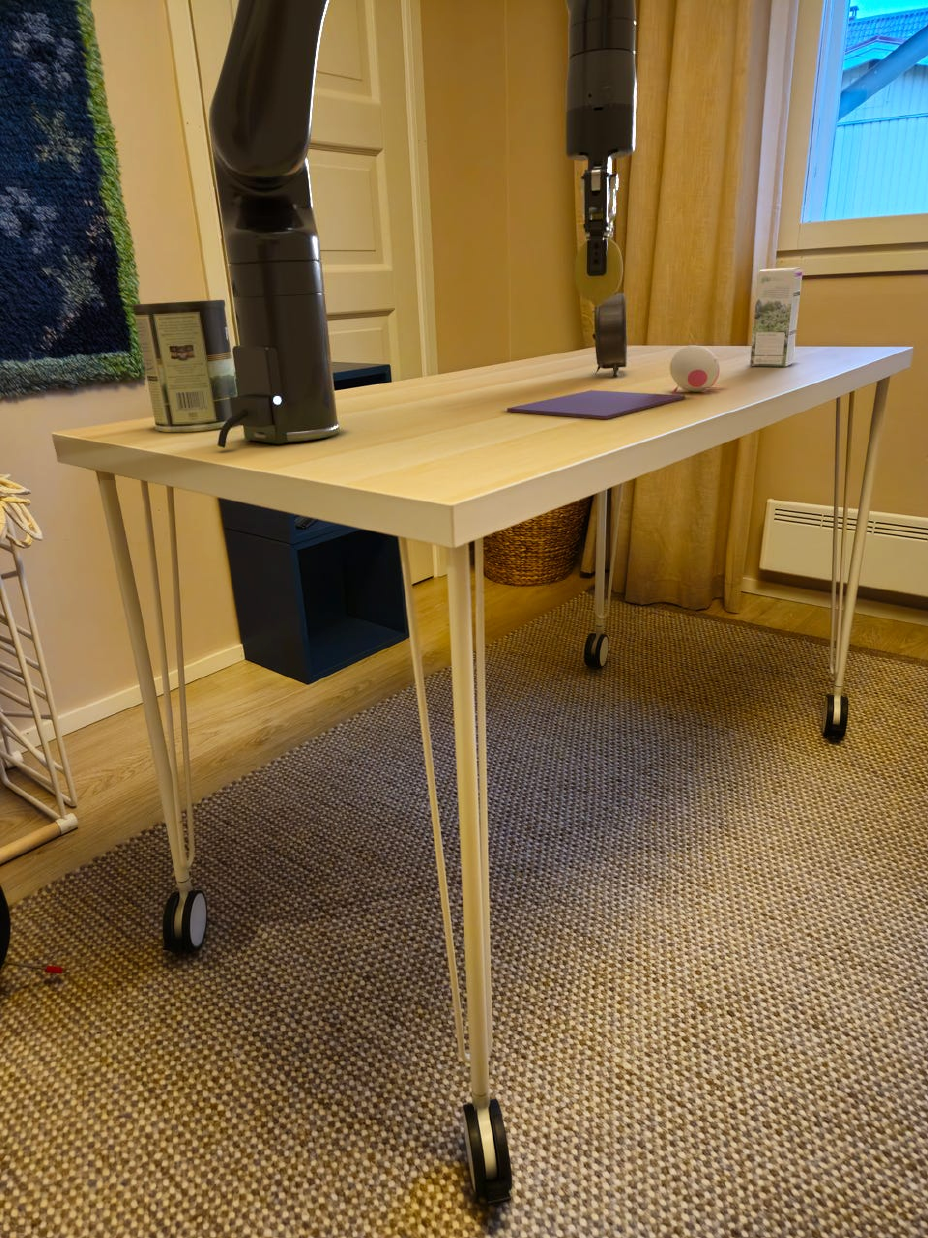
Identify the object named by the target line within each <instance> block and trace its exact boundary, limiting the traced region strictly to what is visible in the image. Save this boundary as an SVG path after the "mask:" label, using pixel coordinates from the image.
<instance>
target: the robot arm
mask: <svg viewBox="0 0 928 1238" xmlns="http://www.w3.org/2000/svg"><path fill="white" fill-rule="evenodd" d="M330 2H331V0H238V3H237V7H236V12H235V16H234V20H233V23H232V24H233V25H232V28H231V32H230V37H229V41H228V45H227V49H226V52H225V56H224V60H223V63H222V67H221V70H220V74H219V77H218V80H217V83H216V87H215V89H214V93H213V96H212V99H211V103H210V106H209V113H208V128H209V129H208V130H209V136H210V137H209V138H210V147H211V153H212V161H213V167H214V175H215V181H216V189H217V194H218V201H219V209H220V216H221V217H220V218H221V225H222V233H223V239H224V246H225V251H226V259H227V265H228V272H229V278H230V286H231V292H232V300H233V308H234V314H235V323H236V329H237V336H238V343H239V344H238V345H234V346H233V347H232V349H231V354H232V361H233V368H234V375H235V382H236V389H237V396H236V397H230V403H231V410H232V417H231V418H230V419H229V420H227V422H226V423H225V424H224V425H223V427H222V428H220V429H221V430H220V432H219V434H218V440H217V446H218V447H220V448H226V445H227V439H228V434H229V433H230V431H231V429H232V428H233V427H234V426H242V430H243V436H244V440H249V441H254V442H255V441H256V442H262V443H269V444H275V445H279V444H285V443H286V444H287V443H294V442H295V443H296V442H306V441H314V440H320V439H325V438H329V437H333V436H335V435H337V434H339V433H340V423H339V421H338V414H337V403H336V393H335V386H334V385H335V384H334V383H335V382H334V374H333V363H332V354H331V353H332V352H331V344H330V343H331V342H330V333H329V325H328V323H329V322H328V316H327V315H328V314H327V305H326V294H325V284H324V275H323V273H324V272H323V265H322V253H321V245H320V236H319V232H318V228H317V223H316V218H315V213H314V205H313V196H312V186H311V177H310V168H309V167H310V166H309V157H308V154H309V150H310V147H311V140H312V125H313V123H312V121H313V109H314V99H315V98H314V95H315V85H316V75H317V66H318V59H319V52H320V51H319V50H320V43H321V37H322V32H323V26H324V21H325V18H326V15H327V11H328V8H329V5H330ZM565 4H566V9H567V13H568V23H567V27H568V28H567V34H568V35H567V38H568V39H567V41H568V43H567V46H568V47H567V48H568V51H567V55H568V57H567V58H568V59H567V60H568V61H567V73H566V80H565V156H566V157H567V159H569V160H571V161H578V162H584V161H587V169H585V170H584V171H583V174H582V175H581V176H580V193H581V195H582V196H581V197H582V200H581V215H582V219H583V221H584V223H583V224H582V225H583V227H582V228H583V230H584V237H585V240H586V241H587V274H588V275H589V276H603V275H605V274H606V272H607V239H604V238H610V239H611V240H612V238H613V232H614V226H613V221H615V219H616V213H617V211H616V210H617V206H616V205H617V194H618V190H619V175H618V173H612V163H613V161H614V160H615V159H622V158H627V157H629V156H631V155H632V154H633V153H634V152H635V150H636V149H635V148H636V120H637V119H636V118H637V116H636V115H637V113H636V112H637V69H636V31H637V29H636V25H637V7H636V5H637V4H636V0H565ZM588 239H590V240H588Z"/></svg>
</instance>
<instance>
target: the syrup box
mask: <svg viewBox="0 0 928 1238" xmlns="http://www.w3.org/2000/svg"><path fill="white" fill-rule="evenodd" d="M802 281H803V268H802V267H800V266H799V267H778V268H762V269H759V270H757V275H756V287H755V288H756V289H755V301H754V311H753V312H754V313H753V325H752V337H751V349H750V361H749V365H750V367H788V366H791V365H792V364H794V360H795V359H794V358H795V348H796V347H795V346H796V335H797V327H798V318H799V317H798V316H799V310H800V309H799V307H800V301H801V300H800V299H801V292H802V291H801V290H802Z"/></svg>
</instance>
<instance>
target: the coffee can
mask: <svg viewBox="0 0 928 1238" xmlns="http://www.w3.org/2000/svg"><path fill="white" fill-rule="evenodd" d="M131 308H132V312H133V313H134V318H135V323H136V328H137V334H138V339H139V345H140V349H141V354H142V360H143V365H144V370H145V378H146V381H147V386H148V392H149V397H150V402H151V409H152V413H153V419H154V423H155V428H154V429H155V430H156V431H158V432H163V433H190V432H191V433H192V432H202V431H204V432H205V431H211V430H219V429H222V427H223V425H224V424H225V423H226V422H227V420H229V419H230V418H231V417H232V410H231V403H230V397H236V396H238V388H237V381H236V375H235V368H234V361H233V354H232V349H231V341H230V334H229V330H228V329H229V327H228V321H227V314H226V301H225V299H211V300H192V301H171V302H169V301H168V302H156V303H155V302H154V303H138V304H137V303H136V304H132V305H131Z"/></svg>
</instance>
